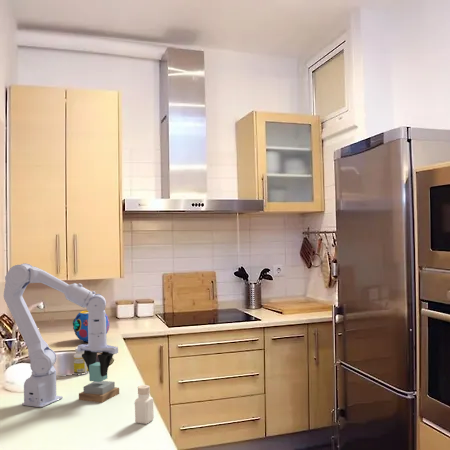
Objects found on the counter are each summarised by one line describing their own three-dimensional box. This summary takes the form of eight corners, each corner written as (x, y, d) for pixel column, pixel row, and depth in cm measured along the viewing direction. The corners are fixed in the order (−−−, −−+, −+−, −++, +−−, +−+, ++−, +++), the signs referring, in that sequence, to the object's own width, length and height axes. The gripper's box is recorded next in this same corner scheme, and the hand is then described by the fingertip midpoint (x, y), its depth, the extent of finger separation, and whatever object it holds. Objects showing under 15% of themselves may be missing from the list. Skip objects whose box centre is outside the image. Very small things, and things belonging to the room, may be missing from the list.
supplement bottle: (83, 370, 189) (82, 345, 189) (91, 372, 186) (91, 347, 186) (71, 374, 185) (70, 348, 185) (79, 376, 181) (78, 349, 182)
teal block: (99, 382, 154) (99, 366, 154) (89, 380, 156) (89, 365, 156) (107, 378, 158) (107, 363, 158) (97, 377, 159) (97, 362, 160)
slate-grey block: (102, 394, 152) (102, 388, 152) (83, 393, 154) (83, 386, 154) (114, 387, 159) (114, 381, 159) (96, 386, 161) (95, 380, 161)
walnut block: (102, 404, 151) (102, 396, 151) (78, 401, 154) (78, 393, 154) (119, 395, 159) (119, 387, 159) (96, 392, 162) (96, 385, 162)
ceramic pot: (72, 339, 251) (72, 310, 251) (107, 336, 257) (107, 307, 257) (74, 346, 234) (73, 315, 235) (111, 342, 240) (111, 312, 241)
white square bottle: (134, 423, 132) (133, 388, 133) (142, 418, 136) (141, 384, 136) (147, 425, 131) (146, 389, 131) (154, 419, 135) (153, 385, 135)
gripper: (123, 331, 158) (124, 373, 158) (87, 329, 164) (87, 369, 163) (110, 335, 152) (111, 379, 151) (72, 333, 157) (73, 375, 157)
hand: (98, 374), depth 157 cm, fingers closed on teal block, 4 cm apart
